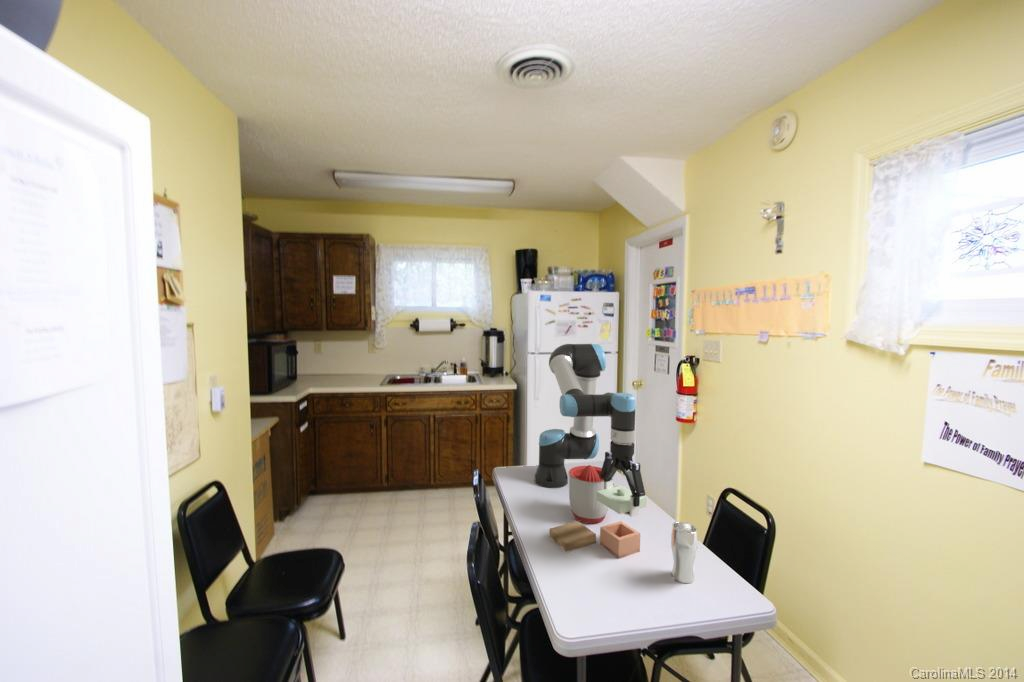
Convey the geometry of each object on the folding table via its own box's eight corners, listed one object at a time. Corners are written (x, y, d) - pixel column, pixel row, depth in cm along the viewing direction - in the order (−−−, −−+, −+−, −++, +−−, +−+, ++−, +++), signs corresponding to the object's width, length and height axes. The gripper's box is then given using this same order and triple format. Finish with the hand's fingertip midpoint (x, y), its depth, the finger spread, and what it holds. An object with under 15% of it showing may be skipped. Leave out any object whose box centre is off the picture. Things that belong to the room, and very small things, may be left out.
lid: (596, 500, 137) (596, 487, 137) (621, 493, 142) (622, 481, 142) (619, 514, 127) (620, 500, 127) (645, 506, 132) (646, 494, 132)
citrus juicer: (615, 529, 147) (617, 475, 146) (566, 524, 151) (567, 470, 149) (613, 509, 163) (615, 460, 161) (569, 505, 166) (570, 456, 165)
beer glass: (674, 566, 126) (676, 518, 125) (698, 576, 121) (700, 526, 120) (666, 577, 120) (668, 527, 120) (691, 587, 116) (693, 536, 115)
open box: (599, 544, 138) (600, 527, 137) (620, 538, 142) (620, 521, 141) (618, 558, 130) (619, 540, 129) (639, 551, 134) (640, 533, 134)
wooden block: (549, 537, 142) (549, 528, 142) (577, 529, 148) (577, 520, 147) (566, 551, 133) (566, 542, 133) (595, 542, 139) (595, 534, 139)
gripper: (590, 433, 142) (588, 496, 143) (640, 453, 121) (638, 526, 123) (607, 431, 146) (605, 492, 147) (659, 450, 125) (656, 520, 126)
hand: (620, 507), depth 135 cm, fingers closed on lid, 11 cm apart
